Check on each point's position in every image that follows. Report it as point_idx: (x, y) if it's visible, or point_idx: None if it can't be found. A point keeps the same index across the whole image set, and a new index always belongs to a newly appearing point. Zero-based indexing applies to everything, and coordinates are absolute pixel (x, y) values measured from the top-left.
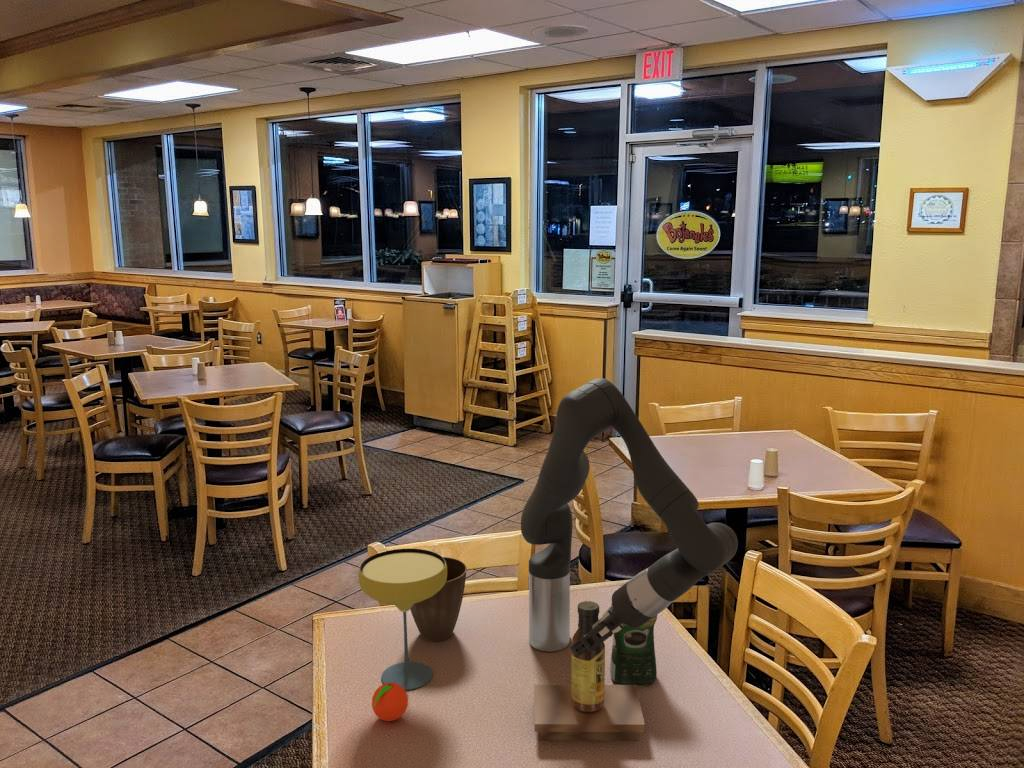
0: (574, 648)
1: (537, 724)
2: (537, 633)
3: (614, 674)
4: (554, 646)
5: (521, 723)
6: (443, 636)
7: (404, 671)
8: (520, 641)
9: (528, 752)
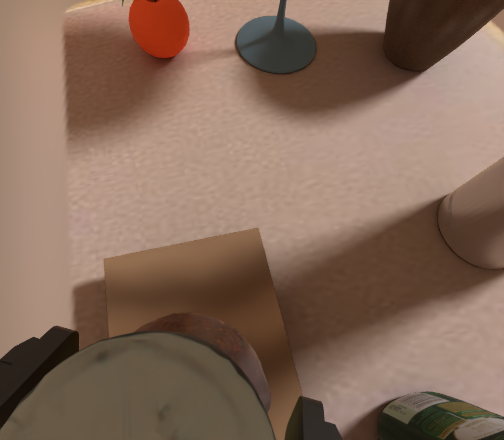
0: (13, 351)
1: (104, 265)
2: (463, 194)
3: (391, 414)
4: (455, 241)
5: (183, 232)
6: (395, 57)
7: (270, 31)
8: (452, 175)
9: (92, 264)
